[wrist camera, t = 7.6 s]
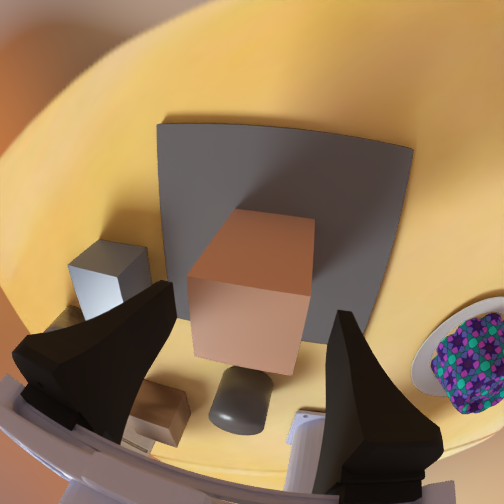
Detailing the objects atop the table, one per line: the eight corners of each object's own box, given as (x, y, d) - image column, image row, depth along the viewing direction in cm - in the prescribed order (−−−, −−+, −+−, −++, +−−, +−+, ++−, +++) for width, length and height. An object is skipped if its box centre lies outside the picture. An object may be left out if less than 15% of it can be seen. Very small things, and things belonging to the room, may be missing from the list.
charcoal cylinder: (275, 371, 24) (266, 415, 20) (270, 399, 26) (262, 438, 22) (222, 361, 24) (206, 402, 20) (223, 390, 27) (210, 428, 23)
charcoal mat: (410, 148, 13) (413, 149, 13) (357, 343, 20) (357, 348, 20) (160, 123, 16) (156, 124, 15) (175, 312, 22) (173, 316, 22)
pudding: (448, 402, 23) (456, 443, 18) (381, 362, 21) (387, 415, 17) (538, 331, 17) (558, 370, 12) (496, 262, 15) (530, 307, 11)
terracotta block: (315, 219, 16) (310, 296, 10) (303, 286, 18) (292, 375, 12) (234, 208, 17) (186, 275, 11) (233, 275, 19) (194, 356, 13)
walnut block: (185, 391, 28) (168, 428, 24) (191, 413, 31) (177, 447, 26) (143, 378, 29) (124, 413, 25) (153, 402, 32) (137, 433, 27)
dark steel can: (90, 311, 25) (58, 348, 21) (102, 342, 28) (75, 378, 23) (61, 301, 26) (29, 333, 21) (73, 331, 28) (46, 363, 24)
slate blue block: (147, 246, 20) (117, 277, 17) (155, 302, 23) (132, 335, 19) (99, 238, 21) (67, 264, 17) (111, 291, 23) (85, 319, 20)
